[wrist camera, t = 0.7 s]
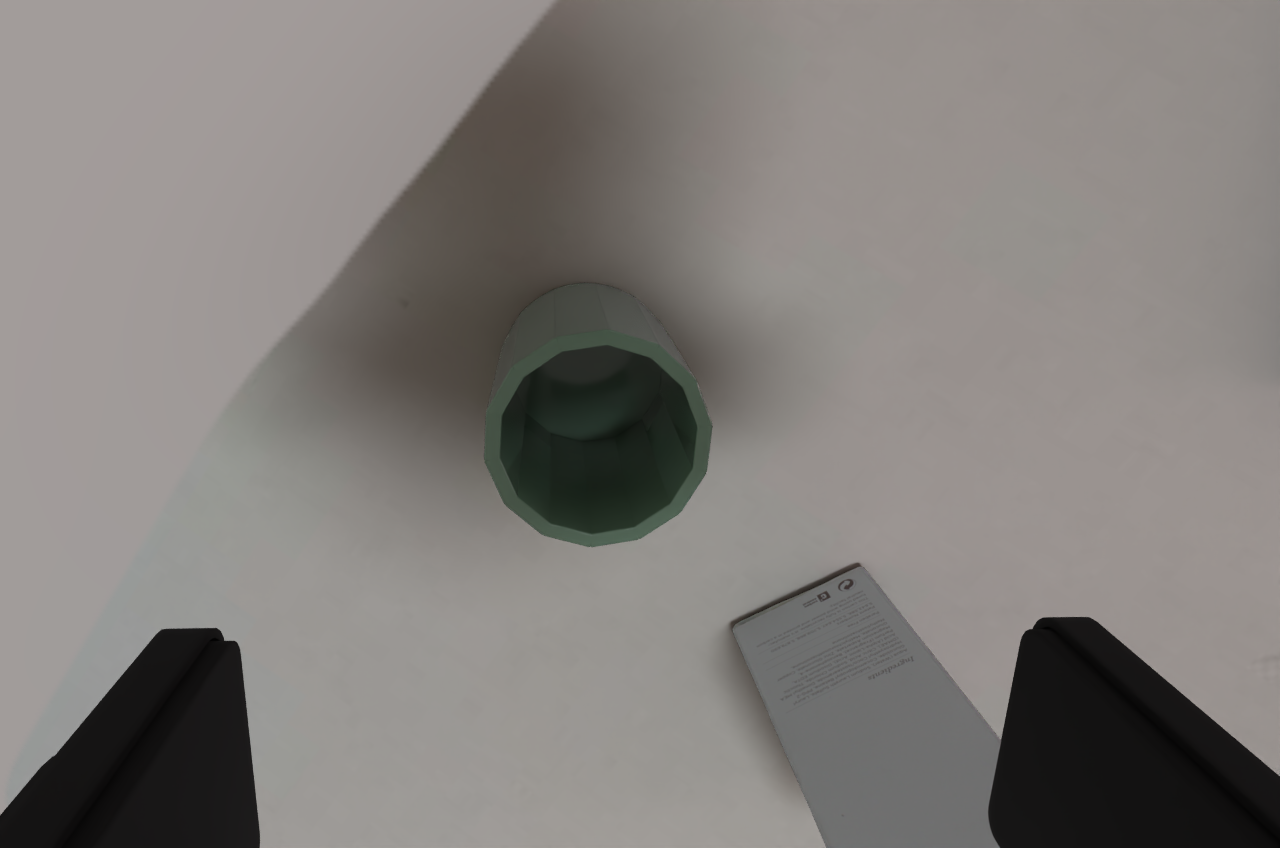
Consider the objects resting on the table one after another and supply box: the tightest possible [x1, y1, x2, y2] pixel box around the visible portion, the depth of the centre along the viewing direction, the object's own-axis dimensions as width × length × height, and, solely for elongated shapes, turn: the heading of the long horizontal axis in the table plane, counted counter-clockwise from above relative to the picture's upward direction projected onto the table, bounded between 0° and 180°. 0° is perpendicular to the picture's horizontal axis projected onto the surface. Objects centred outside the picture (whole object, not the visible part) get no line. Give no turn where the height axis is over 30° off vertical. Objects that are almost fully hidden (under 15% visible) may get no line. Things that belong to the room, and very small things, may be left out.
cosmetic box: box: [732, 567, 1001, 848], centre depth 27 cm, size 8×6×15 cm
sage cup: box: [484, 283, 713, 547], centre depth 26 cm, size 6×6×8 cm
